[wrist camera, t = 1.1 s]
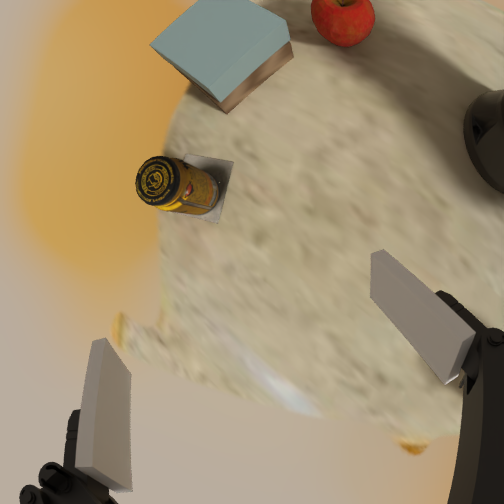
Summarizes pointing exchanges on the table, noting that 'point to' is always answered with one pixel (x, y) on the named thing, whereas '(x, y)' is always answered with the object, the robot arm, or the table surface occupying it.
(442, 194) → the table surface
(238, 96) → the tower base
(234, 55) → the tower top
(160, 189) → the condiment
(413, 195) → the table surface
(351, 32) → the apple
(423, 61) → the table surface
